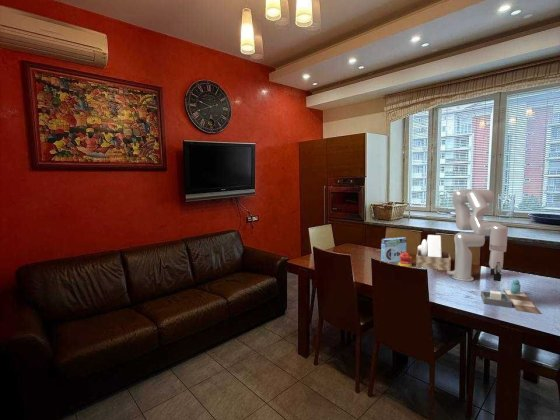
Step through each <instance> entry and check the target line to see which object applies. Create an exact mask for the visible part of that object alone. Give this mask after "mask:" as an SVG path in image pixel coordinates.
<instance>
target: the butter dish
mask: <svg viewBox="0 0 560 420" xmlns="http://www.w3.org/2000/svg"><path fill="white" fill-rule="evenodd" d="M417 250H419V251H421V254H422V256H427V257H438V258H441V252H442V235H436V234H427V238H426V239H425V238H424V239H422V241H421V244H419V245H418V246H417Z"/></svg>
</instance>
